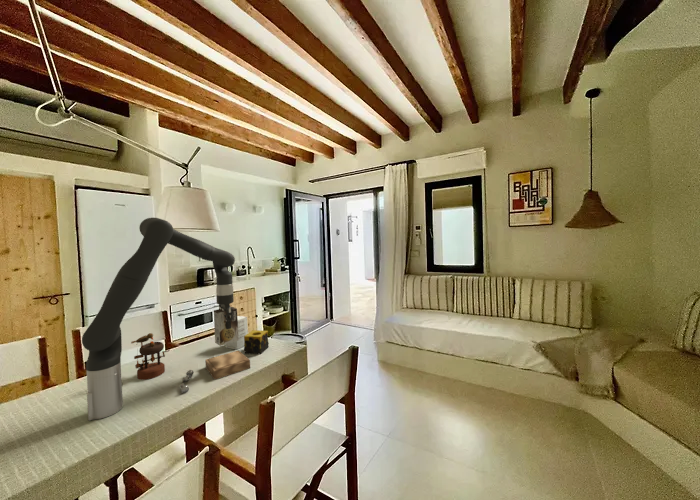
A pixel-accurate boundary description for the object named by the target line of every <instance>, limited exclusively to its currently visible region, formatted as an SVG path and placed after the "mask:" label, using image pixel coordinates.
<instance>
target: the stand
mask: <svg viewBox="0 0 700 500" xmlns="http://www.w3.org/2000/svg"><path fill="white" fill-rule="evenodd" d="M205 368H206V370H207V371H208V372H209V374H210V375H211V377H212V378H213V380H218V379H221V378H224V377H227V376H230V375H233V374H236V373H239V372H240V373H241V372H243V371H246V370H249V369H251V359H250V358H248V357H247V356H246V355H245V354H243V353H242V352H241V351H240V350H239V349H237V350H234V351H231V352H228V353H225V354H221V355H220V354H219V355H218V356H214V357H211V358H206V359H205Z"/></svg>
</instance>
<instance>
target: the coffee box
mask: <svg viewBox="0 0 700 500" xmlns="http://www.w3.org/2000/svg"><path fill="white" fill-rule="evenodd" d="M230 307H231V308H233V320H231V329H226V321H225V317H224V315H227V313H226V311H222V310H220V309H219V308H218V309H214V310H213V322H214V323H213V324H214V325H213V326H214V342H215V343H214V344H217V346H220V347H221V346H224V345H225V344H228V343H231V342H235V341H238V340H239V338H238V319H237V316H238V308H236V307H233V306H230ZM228 318H229V316H228Z"/></svg>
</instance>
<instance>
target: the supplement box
mask: <svg viewBox="0 0 700 500" xmlns="http://www.w3.org/2000/svg"><path fill="white" fill-rule="evenodd" d="M237 319H238V338H239V340H238V341H235V342H231V343H228V344H225V347H224V348H225V349H233V350H239V349H241V348H244V336H245V335H247V334H248V333H249V329H248V327H249V326H248V316H243V315H237Z"/></svg>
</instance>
